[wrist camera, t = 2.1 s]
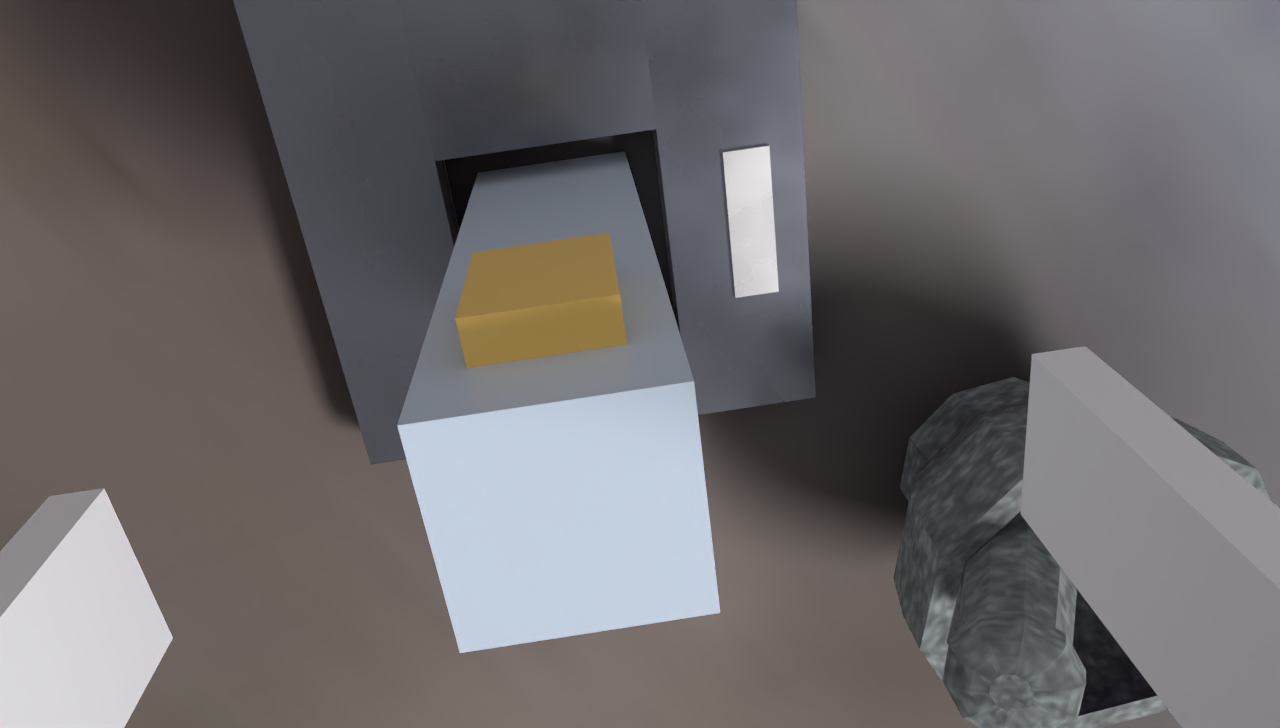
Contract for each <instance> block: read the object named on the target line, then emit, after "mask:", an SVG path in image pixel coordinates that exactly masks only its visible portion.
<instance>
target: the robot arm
mask: <svg viewBox="0 0 1280 728" xmlns="http://www.w3.org/2000/svg"><path fill="white" fill-rule="evenodd" d="M1021 515H1022V517H1023V518H1024V519H1025V521H1026V522H1027V523H1028V525H1029V526H1030V527H1031V529H1032V530H1033V531H1034V533H1035V534H1036V535H1037V537H1038V538H1039V539H1040V541H1041V542H1042V543H1043V544H1044V546H1045V547H1046V548H1047V550H1048V551H1049V552H1050V554H1051V555H1052V556H1053V558H1054V559H1055V560H1056V562H1057V563H1058V564H1059V566H1060V567H1061V568H1062V570H1063V571H1064V572H1065V574H1066V575H1067V576H1068V578H1069V579H1070V580H1071V582H1072V583H1073V584H1074V586H1075V587H1076V588H1077V589H1078V591H1079V592H1080V593H1081V595H1082V596H1083V597H1084V599H1085V600H1086V601H1087V603H1088V604H1089V605H1090V607H1091V608H1092V609H1093V611H1094V612H1095V613H1096V615H1097V616H1098V617H1099V619H1100V620H1101V621H1102V623H1103V624H1104V625H1105V627H1106V628H1107V629H1108V631H1109V632H1110V633H1111V634H1112V636H1113V637H1114V638H1115V640H1116V641H1117V642H1118V644H1119V645H1120V646H1121V648H1122V649H1123V650H1124V652H1125V653H1126V654H1127V656H1128V657H1129V658H1130V660H1131V661H1132V662H1133V664H1134V665H1135V666H1136V668H1137V669H1138V670H1139V672H1140V673H1141V674H1142V676H1143V677H1144V678H1145V680H1146V681H1147V682H1148V683H1149V685H1150V686H1151V687H1152V689H1153V690H1154V691H1155V693H1156V694H1157V695H1158V697H1159V698H1160V699H1161V701H1162V702H1163V703H1164V705H1165V706H1166V707H1167V709H1168V710H1169V711H1170V713H1171V714H1172V715H1173V717H1174V718H1175V719H1176V721H1177V722H1178V723H1179V725H1180V726H1181V727H1182V728H1280V508H1279V507H1277V506H1276V505H1275V504H1274V503H1273V502H1271V501H1270V500H1269V499H1268V498H1267V497H1265V496H1264V495H1263V494H1262V493H1261V492H1259V491H1258V490H1257V489H1256V488H1255V487H1253V486H1252V485H1251V484H1250V483H1249V482H1247V481H1246V480H1245V479H1244V478H1243V477H1241V476H1240V475H1239V474H1238V473H1237V472H1235V471H1234V470H1233V469H1232V468H1231V467H1229V466H1228V465H1227V464H1226V463H1225V462H1223V461H1222V460H1221V459H1220V458H1219V457H1217V456H1216V455H1215V454H1214V453H1213V452H1211V451H1210V450H1209V449H1208V448H1207V447H1205V446H1204V445H1203V444H1202V443H1201V442H1199V441H1198V440H1197V439H1196V438H1195V437H1193V436H1192V435H1191V434H1190V433H1189V432H1187V431H1186V430H1185V429H1184V428H1183V427H1181V426H1180V425H1179V424H1178V423H1177V422H1175V421H1174V420H1173V419H1172V418H1171V417H1169V416H1168V415H1167V414H1166V413H1165V412H1164V411H1162V410H1161V409H1160V408H1159V407H1158V406H1156V405H1155V404H1154V403H1153V402H1152V401H1150V400H1149V399H1148V398H1147V397H1146V396H1144V395H1143V394H1142V393H1141V392H1140V391H1138V390H1137V389H1136V388H1135V387H1134V386H1132V385H1131V384H1130V383H1129V382H1128V381H1126V380H1125V379H1124V378H1123V377H1122V376H1120V375H1119V374H1118V373H1117V372H1116V371H1114V370H1113V369H1112V368H1111V367H1110V366H1108V365H1107V364H1106V363H1105V362H1104V361H1102V360H1101V359H1100V358H1099V357H1098V356H1096V355H1095V354H1094V353H1093V352H1092V351H1090V350H1089V349H1088V348H1087V347H1086V346H1084V347H1078V348H1071V349H1064V350H1057V351H1050V352H1043V353H1036V354H1032V359H1031V373H1030V387H1029V401H1028V415H1027V429H1026V443H1025V457H1024V472H1023V486H1022V500H1021ZM172 639H173V637H172V635H171V633H170V631H169V629H168V626H167V624H166V622H165V620H164V618H163V615H162V613H161V611H160V609H159V607H158V605H157V602H156V600H155V598H154V596H153V594H152V592H151V589H150V587H149V585H148V583H147V581H146V578H145V576H144V574H143V572H142V570H141V568H140V565H139V563H138V561H137V559H136V557H135V555H134V552H133V550H132V548H131V546H130V544H129V541H128V539H127V537H126V535H125V533H124V531H123V528H122V526H121V524H120V522H119V520H118V518H117V515H116V513H115V511H114V509H113V507H112V504H111V502H110V500H109V498H108V496H107V494H106V491H105V489H104V488H103V489H96V490H89V491H82V492H76V493H69V494H62V495H55V496H49V497H48V498H47V500H46V501H45V502H44V503H43V504H42V505H41V506H40V508H39V509H38V510H37V511H36V512H35V513H34V514H33V515H32V517H31V518H30V519H29V520H28V521H27V522H26V523H25V524H24V526H23V527H22V528H21V529H20V530H19V531H18V532H17V533H16V535H15V536H14V537H13V538H12V539H11V540H10V541H9V542H8V544H7V545H6V546H5V547H4V548H3V549H2V550H1V551H0V728H124V727H125V725H126V723H127V721H128V720H129V718H130V716H131V714H132V712H133V710H134V708H135V707H136V705H137V703H138V701H139V699H140V697H141V696H142V694H143V692H144V690H145V688H146V686H147V685H148V683H149V681H150V679H151V677H152V675H153V674H154V672H155V670H156V668H157V666H158V664H159V663H160V661H161V659H162V657H163V655H164V653H165V651H166V650H167V648H168V646H169V644H170V642H171V640H172Z"/></svg>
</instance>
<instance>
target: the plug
mask: <svg viewBox="0 0 1280 728" xmlns="http://www.w3.org/2000/svg"><path fill="white" fill-rule="evenodd" d="M397 427H398V431H399V434H400V438H401V441H402V445H403V449H404V452H405V456H406V459H407V463H408V467H409V470H410V474H411V477H412V481H413V485H414V488H415V492H416V496H417V499H418V503H419V506H420V510H421V514H422V517H423V521H424V524H425V528H426V532H427V535H428V539H429V543H430V546H431V550H432V553H433V557H434V561H435V564H436V568H437V571H438V575H439V579H440V582H441V586H442V589H443V593H444V597H445V600H446V604H447V608H448V611H449V615H450V618H451V622H452V626H453V629H454V633H455V636H456V640H457V644H458V647H459V651H460V653H464V652H470V651H476V650H483V649H489V648H496V647H502V646H509V645H515V644H522V643H528V642H535V641H541V640H548V639H554V638H561V637H567V636H573V635H580V634H586V633H593V632H599V631H606V630H612V629H619V628H625V627H632V626H638V625H645V624H651V623H657V622H664V621H670V620H677V619H683V618H690V617H696V616H703V615H709V614H716V613H720V607H719V598H718V589H717V581H716V572H715V563H714V554H713V545H712V536H711V527H710V518H709V509H708V501H707V492H706V483H705V474H704V465H703V456H702V447H701V438H700V429H699V421H698V412H697V403H696V394H695V385H694V379H693V376H692V373H691V369H690V366H689V363H688V359H687V356H686V353H685V349H684V346H683V343H682V339H681V336H680V333H679V330H678V326H677V323H676V320H675V316H674V313H673V310H672V306H671V303H670V300H669V296H668V293H667V290H666V286H665V283H664V280H663V276H662V273H661V270H660V266H659V263H658V260H657V256H656V253H655V250H654V246H653V243H652V240H651V237H650V233H649V230H648V227H647V223H646V220H645V217H644V213H643V210H642V207H641V203H640V200H639V197H638V193H637V190H636V187H635V183H634V180H633V177H632V173H631V170H630V167H629V163H628V160H627V157H626V154H625V151H623V152H616V153H609V154H602V155H595V156H589V157H582V158H575V159H568V160H561V161H554V162H547V163H540V164H533V165H526V166H520V167H513V168H506V169H499V170H492V171H485V172H478V174H477V177H476V180H475V183H474V186H473V190H472V193H471V196H470V199H469V202H468V205H467V208H466V212H465V215H464V218H463V221H462V224H461V227H460V230H459V233H458V237H457V240H456V243H455V246H454V249H453V252H452V255H451V259H450V262H449V265H448V268H447V271H446V274H445V277H444V280H443V284H442V287H441V290H440V293H439V296H438V299H437V302H436V306H435V309H434V312H433V315H432V318H431V321H430V324H429V327H428V331H427V334H426V337H425V340H424V343H423V346H422V349H421V353H420V356H419V359H418V362H417V365H416V368H415V371H414V374H413V378H412V381H411V384H410V387H409V390H408V393H407V396H406V400H405V403H404V406H403V409H402V412H401V415H400V418H399V421H398V425H397Z"/></svg>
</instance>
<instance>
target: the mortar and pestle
mask: <svg viewBox="0 0 1280 728" xmlns="http://www.w3.org/2000/svg"><path fill="white" fill-rule="evenodd" d="M1029 387H1030V382H1028V381H1025V380H1022V379H1019V378H1016V377H1010V378H1007V379H1003V380H1000V381H996V382H992V383H989V384H985V385H982V386H978V387H975V388H971V389H967V390H964V391H960V392H957V393H953V394H952V395H951V396H950V397H949V398H948V399H947V400H946V401H945V402H944V403H943V404H942V405H941V406H940V407H939V408H938V409H937V410H936V411H935V412H934V413H933V414H932V415H931V416H930V417H929V418H928V419H927V420H926V421H925V422H924V423H923V424H922V425H921V426H920V427H919V428H918V429H917V430H916V431H915V432H914V433H913V434H912V435H911V436H910V437H909V442H908V447H907V453H906V458H905V463H904V468H903V473H902V478H901V484H900V489H901V491H902V492H903V494H904V496H905V497H906V499H907V500H908V502H909V504H908V509H907V514H906V519H905V524H904V529H903V534H902V539H901V544H900V549H899V554H898V559H897V564H896V569H895V574H894V582H895V585H896V589H897V593H898V597H899V601H900V605H901V609H902V613H903V616H904V618H905V620H906V622H907V624H908V626H909V628H910V630H911V632H912V634H913V636H914V638H915V640H916V642H917V644H918V646H919V648H920V650H921V651H922V653H923V654H924V656H925V657H926V659H927V660H928V661H929V663H930V664H931V666H932V667H933V669H934V670H935V671H936V673H937V674H938V676H939V677H940V679H941V680H942V681H943V683H944V684H945V686H946V688H947V690H948V692H949V694H950V695H951V697H952V699H953V701H954V703H955V704H956V706H957V708H958V710H959V712H960V714H961V715H962V717H963V718H964V719H966V720H968V721H969V722H971V723H973V724H974V725H976V726H978V727H979V728H1101V727H1105V726H1108V725H1112V724H1116V723H1120V722H1124V721H1128V720H1131V719H1135V718H1139V717H1143V716H1147V715H1151V714H1155V713H1158V712H1162V711H1165V710H1167V707H1166V706H1165V705H1164V703H1163V702H1162V701H1161V699H1160V698H1159V697H1158V695H1157V694H1156V693H1155V691H1154V690H1153V689H1152V687H1151V686H1150V685H1149V683H1148V682H1147V681H1146V680H1145V678H1144V677H1143V676H1142V674H1141V673H1140V672H1139V670H1138V669H1137V668H1136V666H1135V665H1134V664H1133V662H1132V661H1131V660H1130V658H1129V657H1128V656H1127V654H1126V653H1125V652H1124V650H1123V649H1122V648H1121V646H1120V645H1119V644H1118V642H1117V641H1116V640H1115V638H1114V637H1113V636H1112V634H1111V633H1110V632H1109V631H1108V629H1107V628H1106V627H1105V625H1104V624H1103V623H1102V621H1101V620H1100V619H1099V617H1098V616H1097V615H1096V613H1095V612H1094V611H1093V609H1092V608H1091V607H1090V605H1089V604H1088V603H1087V601H1086V600H1085V599H1084V597H1083V596H1082V595H1081V593H1080V592H1079V591H1078V589H1077V588H1076V587H1075V586H1074V584H1073V583H1072V582H1071V580H1070V579H1069V578H1068V576H1067V575H1066V574H1065V572H1064V571H1063V570H1062V568H1061V567H1060V566H1059V564H1058V563H1057V562H1056V560H1055V559H1054V558H1053V556H1052V555H1051V554H1050V552H1049V551H1048V550H1047V548H1046V547H1045V546H1044V544H1043V543H1042V542H1041V541H1040V539H1039V538H1038V537H1037V535H1036V534H1035V533H1034V531H1033V530H1032V529H1031V527H1030V526H1029V525H1028V523H1027V522H1026V521H1025V519H1024V518H1023V517H1022V515H1021V500H1022V486H1023V472H1024V457H1025V443H1026V429H1027V415H1028V401H1029ZM1171 418H1172V417H1171ZM1172 419H1173V420H1174V421H1175V422H1177V423H1178V424H1179V425H1180V426H1181V427H1183V428H1184V429H1185V430H1186V431H1187V432H1189V433H1190V434H1191V435H1192V436H1193V437H1195V438H1196V439H1197V440H1198V441H1199V442H1201V443H1202V444H1203V445H1204V446H1205V447H1207V448H1208V449H1209V450H1210V451H1211V452H1213V453H1214V454H1215V455H1216V456H1217V457H1219V458H1220V459H1221V460H1222V461H1223V462H1225V463H1226V464H1227V465H1228V466H1229V467H1231V468H1232V469H1233V470H1234V471H1235V472H1237V473H1238V474H1239V475H1240V476H1241V477H1243V478H1244V479H1245V480H1246V481H1247V482H1249V483H1250V484H1251V485H1252V486H1253V487H1255V488H1256V489H1257V490H1258V491H1259V492H1261V493H1262V494H1263V495H1264V496H1265V497H1267V498H1268V499H1269V500H1270V498H1269V495H1268V493H1267V490H1266V488H1265V486H1264V483H1263V481H1262V478H1261V476H1260V473H1259V471H1258V469H1257V468H1256V467H1254V466H1253V465H1252V464H1250V463H1249V462H1248V461H1247V460H1245V459H1244V458H1243V457H1241V456H1240V455H1239V454H1238V453H1236V452H1235V451H1234V450H1232V449H1231V448H1230V447H1229V446H1227V445H1226V444H1225V443H1224V442H1222V441H1220V440H1218V439H1216V438H1214V437H1212V436H1210V435H1208V434H1206V433H1204V432H1202V431H1200V430H1198V429H1196V428H1194V427H1192V426H1190V425H1188V424H1186V423H1184V422H1182V421H1180V420H1178V419H1175V418H1172ZM1270 501H1271V500H1270Z"/></svg>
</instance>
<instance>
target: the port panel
mask: <svg viewBox="0 0 1280 728" xmlns="http://www.w3.org/2000/svg"><path fill="white" fill-rule="evenodd" d="M233 2H234V5H235V9H236V12H237V15H238V19H239V22H240V26H241V29H242V32H243V36H244V39H245V42H246V46H247V49H248V52H249V56H250V59H251V63H252V66H253V69H254V73H255V76H256V79H257V83H258V86H259V89H260V93H261V96H262V100H263V103H264V106H265V110H266V113H267V116H268V120H269V123H270V127H271V130H272V133H273V137H274V140H275V143H276V147H277V150H278V153H279V157H280V160H281V164H282V167H283V170H284V174H285V177H286V180H287V184H288V187H289V190H290V194H291V197H292V201H293V204H294V207H295V211H296V214H297V217H298V221H299V224H300V228H301V231H302V234H303V238H304V241H305V244H306V248H307V251H308V254H309V258H310V261H311V265H312V268H313V271H314V275H315V278H316V281H317V285H318V288H319V291H320V295H321V298H322V302H323V305H324V308H325V312H326V315H327V318H328V322H329V325H330V328H331V332H332V335H333V339H334V342H335V345H336V349H337V352H338V355H339V359H340V362H341V366H342V369H343V372H344V376H345V379H346V382H347V386H348V389H349V392H350V396H351V399H352V403H353V406H354V409H355V413H356V416H357V419H358V423H359V426H360V429H361V433H362V436H363V440H364V443H365V446H366V450H367V453H368V456H369V460H370V463H371V464H377V463H383V462H390V461H397V460H403V459H406V456H405V452H404V449H403V445H402V441H401V438H400V434H399V431H398V427H397V425H398V421H399V418H400V415H401V412H402V409H403V406H404V403H405V400H406V396H407V393H408V390H409V387H410V384H411V381H412V378H413V374H414V371H415V368H416V365H417V362H418V359H419V356H420V353H421V349H422V346H423V343H424V340H425V337H426V334H427V331H428V327H429V324H430V321H431V318H432V315H433V312H434V309H435V306H436V302H437V299H438V296H439V293H440V290H441V287H442V284H443V280H444V277H445V274H446V271H447V268H448V265H449V262H450V259H451V255H452V252H453V249H454V246H455V243H456V240H457V237H458V233H459V230H460V228H459V223H458V219H457V214H456V209H455V205H454V200H453V196H452V191H451V187H450V182H449V177H448V173H447V168H446V164H445V160H447V159H454V158H460V157H467V156H474V155H481V154H488V153H495V152H502V151H509V150H516V149H523V148H530V147H537V146H544V145H550V144H557V143H564V142H571V141H578V140H585V139H592V138H599V137H606V136H613V135H620V134H627V133H633V132H640V131H647V130H652V133H653V142H654V150H655V158H656V167H657V175H658V184H659V192H660V200H661V209H662V217H663V226H664V234H665V242H666V251H667V259H668V268H669V276H670V285H671V293H672V301H673V313H674V316H675V320H676V323H677V326H678V330H679V333H680V336H681V339H682V343H683V346H684V349H685V353H686V356H687V359H688V363H689V366H690V369H691V373H692V376H693V379H694V385H695V394H696V403H697V412H698V415H702V414H709V413H715V412H722V411H729V410H735V409H742V408H749V407H755V406H762V405H769V404H775V403H782V402H788V401H795V400H802V399H808V398H815V397H816V391H815V370H814V350H813V329H812V309H811V288H810V267H809V247H808V226H807V205H806V185H805V164H804V143H803V123H802V102H801V82H800V61H799V40H798V20H797V0H233Z"/></svg>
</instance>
